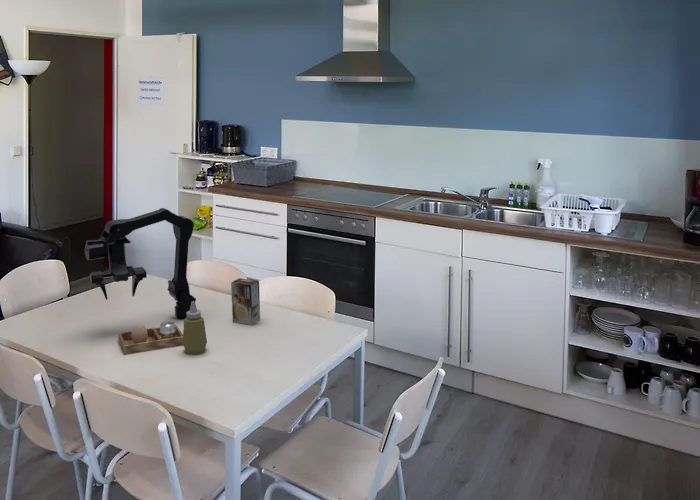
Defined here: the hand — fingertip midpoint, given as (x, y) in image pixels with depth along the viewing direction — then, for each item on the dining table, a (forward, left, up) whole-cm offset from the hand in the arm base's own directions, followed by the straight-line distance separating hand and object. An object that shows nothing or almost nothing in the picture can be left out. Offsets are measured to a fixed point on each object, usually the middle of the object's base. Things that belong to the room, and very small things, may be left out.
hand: (120, 297), depth 236 cm
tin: (-13, +18, -12) cm, 25 cm away
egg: (-3, +18, -12) cm, 22 cm away
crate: (-7, +18, -12) cm, 23 cm away
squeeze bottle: (-19, +31, -13) cm, 39 cm away
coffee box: (-44, +10, -13) cm, 47 cm away
